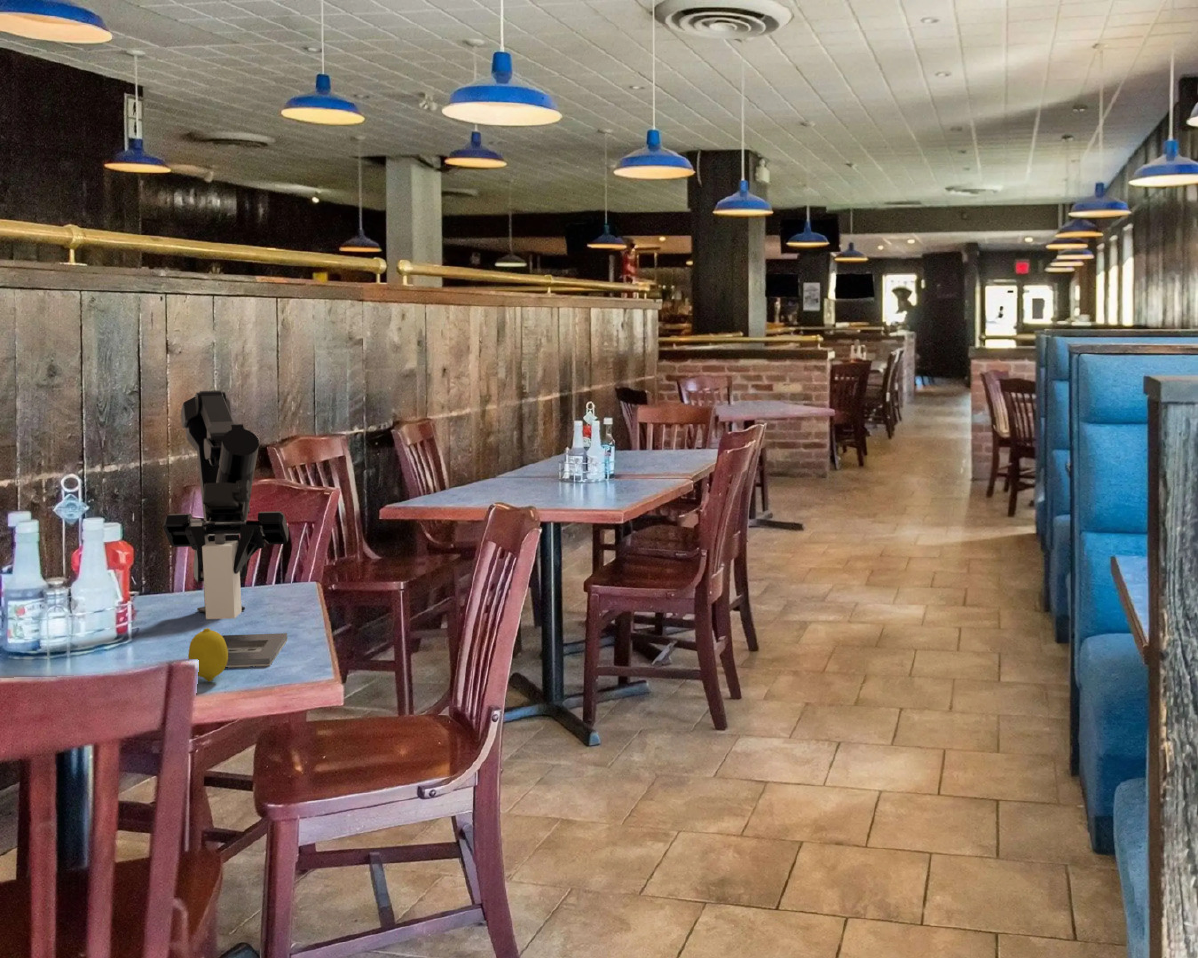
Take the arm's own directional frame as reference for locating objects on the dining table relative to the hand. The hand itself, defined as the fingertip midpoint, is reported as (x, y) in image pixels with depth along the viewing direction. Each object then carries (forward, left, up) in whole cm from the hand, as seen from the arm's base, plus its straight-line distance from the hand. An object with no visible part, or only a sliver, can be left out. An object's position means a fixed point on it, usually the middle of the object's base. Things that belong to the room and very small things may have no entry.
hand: (219, 572), depth 193 cm
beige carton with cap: (-1, +1, -7) cm, 7 cm away
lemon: (+11, -8, -14) cm, 19 cm away
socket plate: (0, +3, -14) cm, 14 cm away
